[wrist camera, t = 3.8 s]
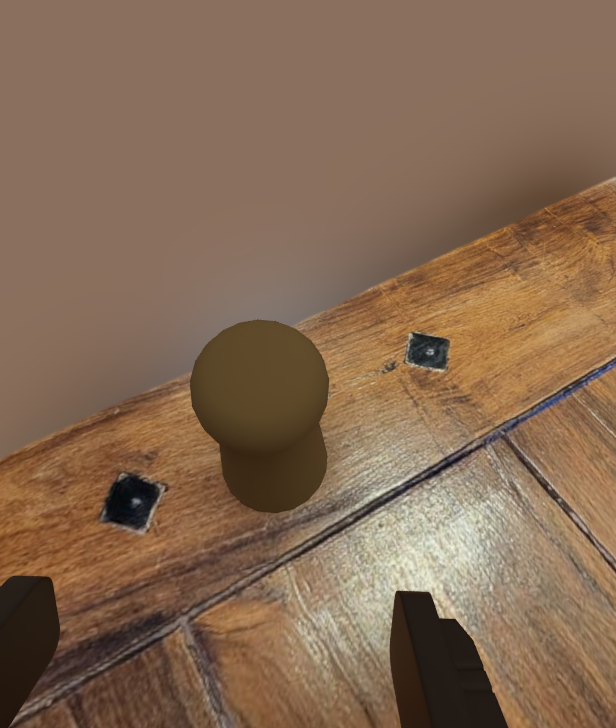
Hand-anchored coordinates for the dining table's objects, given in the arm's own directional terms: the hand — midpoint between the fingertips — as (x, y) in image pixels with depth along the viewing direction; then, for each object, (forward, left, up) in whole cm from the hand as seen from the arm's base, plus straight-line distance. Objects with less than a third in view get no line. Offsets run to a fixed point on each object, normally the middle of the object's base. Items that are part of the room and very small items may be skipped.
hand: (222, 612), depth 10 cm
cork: (-2, +7, -12) cm, 14 cm away
